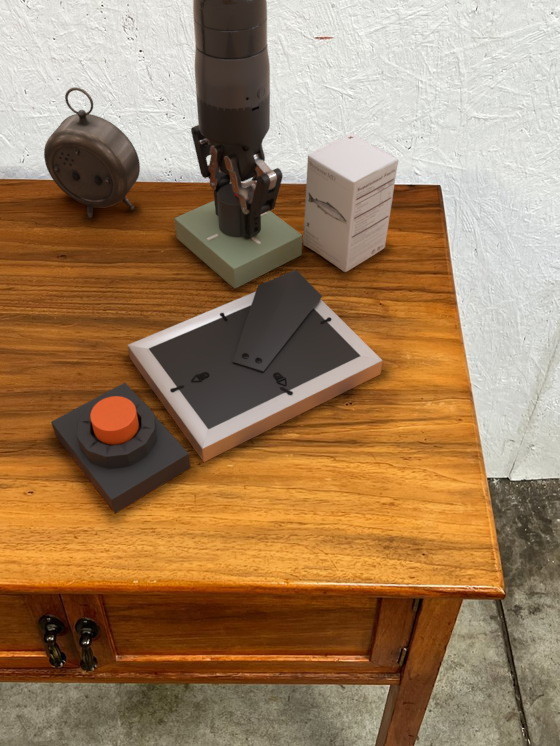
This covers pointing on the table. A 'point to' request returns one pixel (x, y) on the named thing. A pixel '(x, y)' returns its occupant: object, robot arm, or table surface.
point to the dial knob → (230, 211)
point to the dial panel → (238, 245)
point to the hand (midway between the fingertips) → (237, 224)
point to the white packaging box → (348, 200)
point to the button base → (122, 452)
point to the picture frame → (252, 364)
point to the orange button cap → (114, 420)
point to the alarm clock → (92, 159)
